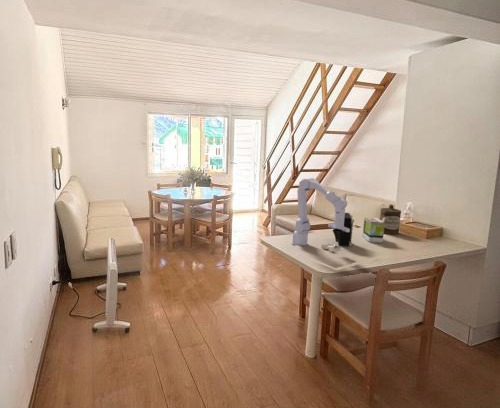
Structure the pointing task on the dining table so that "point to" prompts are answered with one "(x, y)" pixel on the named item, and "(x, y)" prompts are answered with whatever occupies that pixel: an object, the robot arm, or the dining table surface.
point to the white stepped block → (331, 248)
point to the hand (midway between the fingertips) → (337, 241)
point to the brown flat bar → (330, 245)
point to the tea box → (373, 229)
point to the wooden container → (391, 220)
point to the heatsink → (331, 244)
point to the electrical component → (347, 236)
